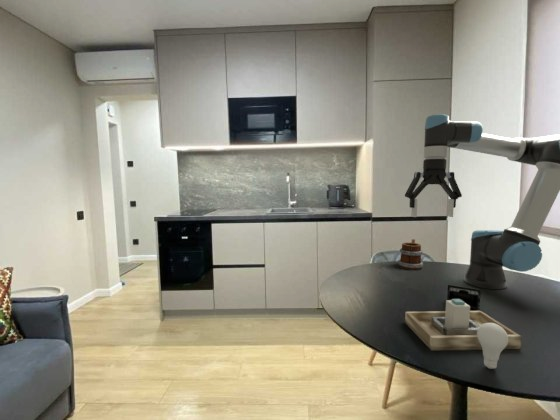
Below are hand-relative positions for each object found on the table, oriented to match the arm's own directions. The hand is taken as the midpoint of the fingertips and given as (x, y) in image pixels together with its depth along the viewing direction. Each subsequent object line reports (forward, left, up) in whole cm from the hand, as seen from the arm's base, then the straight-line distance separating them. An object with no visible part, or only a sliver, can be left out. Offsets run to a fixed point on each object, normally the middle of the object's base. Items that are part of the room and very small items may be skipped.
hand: (431, 216), depth 116 cm
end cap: (-8, +9, -31) cm, 33 cm away
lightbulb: (+8, +45, -31) cm, 55 cm away
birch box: (+6, +29, -31) cm, 43 cm away
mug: (-12, -41, -31) cm, 53 cm away
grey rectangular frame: (+6, +28, -31) cm, 42 cm away
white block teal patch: (+6, +28, -30) cm, 41 cm away
